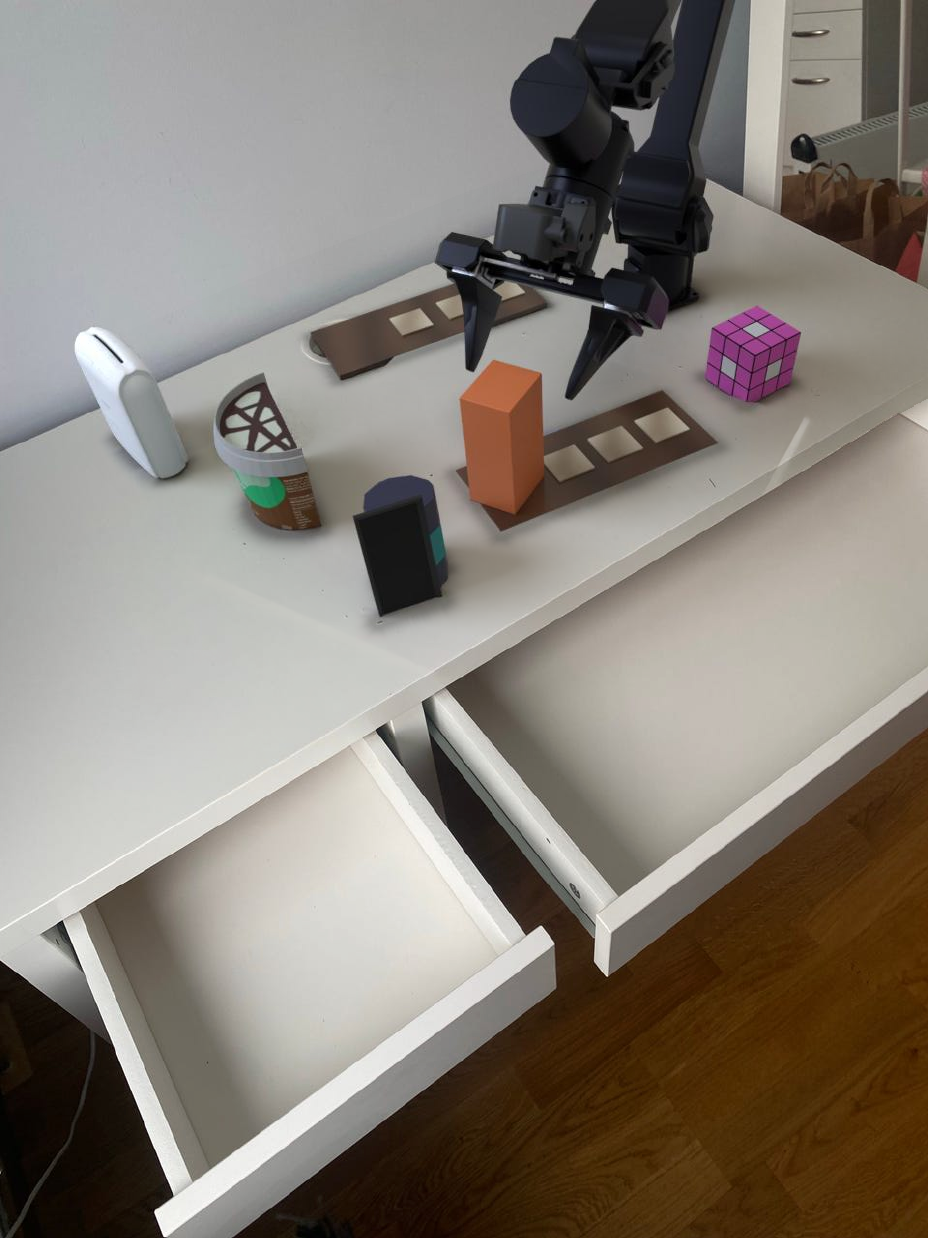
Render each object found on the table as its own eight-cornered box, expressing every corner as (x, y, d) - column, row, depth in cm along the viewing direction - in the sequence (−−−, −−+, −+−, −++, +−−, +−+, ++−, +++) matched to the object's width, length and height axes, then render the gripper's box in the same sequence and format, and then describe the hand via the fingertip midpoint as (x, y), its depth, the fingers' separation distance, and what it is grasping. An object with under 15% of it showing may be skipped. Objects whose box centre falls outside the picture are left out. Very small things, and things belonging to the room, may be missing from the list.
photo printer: (109, 436, 93) (57, 328, 84) (147, 416, 95) (100, 308, 85) (156, 487, 88) (106, 377, 78) (196, 465, 89) (152, 355, 80)
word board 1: (508, 269, 107) (508, 262, 106) (547, 307, 101) (547, 300, 101) (311, 336, 101) (309, 330, 101) (340, 380, 96) (339, 373, 95)
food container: (225, 478, 88) (192, 390, 80) (287, 457, 89) (261, 368, 81) (259, 564, 80) (227, 476, 73) (327, 540, 82) (303, 451, 74)
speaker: (450, 616, 75) (429, 514, 67) (379, 623, 75) (351, 522, 68) (453, 553, 80) (434, 453, 73) (386, 560, 81) (361, 460, 73)
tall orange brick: (500, 461, 85) (493, 359, 77) (544, 475, 84) (542, 372, 75) (470, 499, 82) (459, 397, 74) (515, 515, 81) (509, 412, 72)
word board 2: (661, 394, 90) (662, 387, 90) (717, 447, 85) (718, 440, 84) (455, 474, 86) (455, 468, 85) (500, 536, 80) (500, 529, 80)
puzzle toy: (745, 407, 88) (755, 355, 84) (704, 378, 91) (711, 327, 87) (790, 383, 90) (802, 331, 85) (748, 355, 93) (757, 304, 89)
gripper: (433, 129, 71) (375, 335, 74) (667, 171, 64) (593, 396, 67) (491, 186, 81) (437, 364, 84) (698, 226, 74) (632, 420, 77)
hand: (517, 384), depth 77 cm, fingers open, 9 cm apart
